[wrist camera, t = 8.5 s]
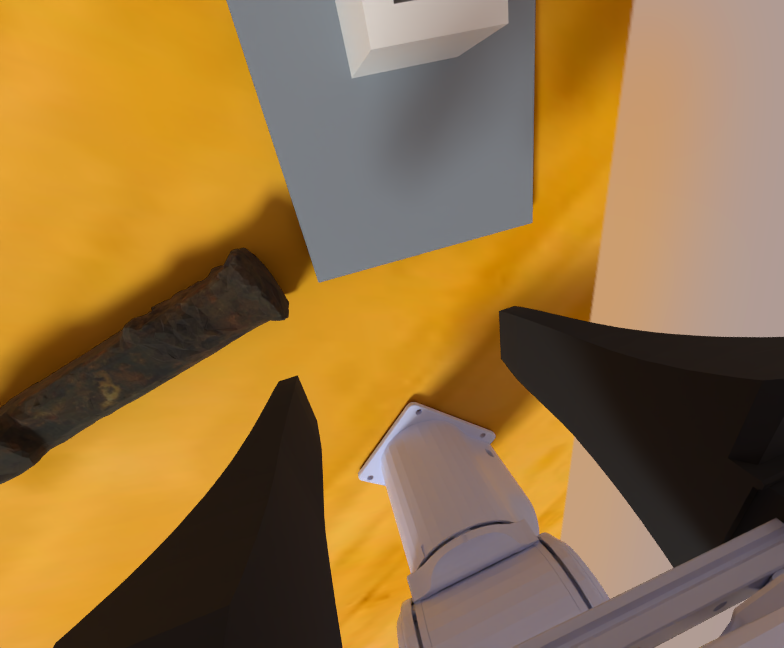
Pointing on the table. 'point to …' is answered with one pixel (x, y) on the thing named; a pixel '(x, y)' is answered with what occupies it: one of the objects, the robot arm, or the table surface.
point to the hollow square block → (414, 31)
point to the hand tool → (139, 359)
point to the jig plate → (392, 135)
